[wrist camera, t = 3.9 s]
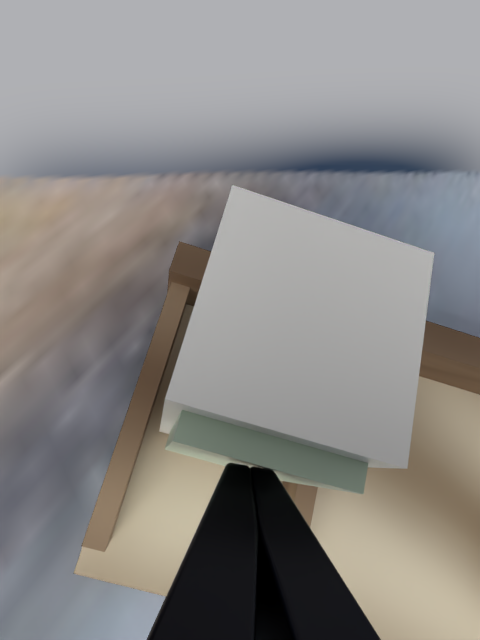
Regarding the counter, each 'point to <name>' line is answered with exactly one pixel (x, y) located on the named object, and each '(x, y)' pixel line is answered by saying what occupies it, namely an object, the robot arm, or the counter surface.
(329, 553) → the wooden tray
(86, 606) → the counter surface
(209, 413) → the white rectangular block
